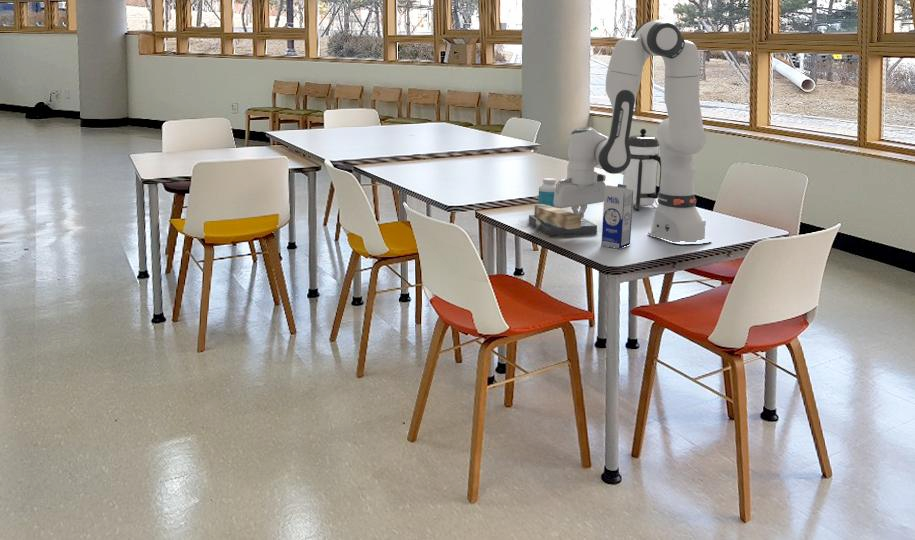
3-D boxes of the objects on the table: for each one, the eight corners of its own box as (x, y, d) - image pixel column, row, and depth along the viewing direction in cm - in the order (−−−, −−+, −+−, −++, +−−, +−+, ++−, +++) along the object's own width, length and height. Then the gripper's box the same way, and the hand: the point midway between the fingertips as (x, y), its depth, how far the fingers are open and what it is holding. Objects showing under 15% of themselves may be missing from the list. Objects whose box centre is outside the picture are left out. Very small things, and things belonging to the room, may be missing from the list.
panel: (596, 234, 321) (597, 222, 320) (546, 236, 316) (547, 224, 315) (573, 221, 340) (574, 209, 339) (526, 223, 335) (526, 211, 334)
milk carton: (600, 245, 306) (604, 184, 300) (611, 242, 311) (614, 181, 305) (620, 249, 302) (624, 187, 296) (630, 245, 307) (634, 184, 301)
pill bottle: (557, 218, 344) (558, 181, 340) (536, 217, 346) (538, 180, 342) (559, 213, 351) (560, 177, 348) (539, 212, 353) (540, 176, 349)
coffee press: (615, 210, 359) (620, 130, 351) (621, 202, 374) (626, 125, 365) (662, 213, 354) (668, 132, 346) (666, 205, 369) (672, 127, 360)
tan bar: (531, 216, 325) (531, 205, 324) (543, 215, 328) (543, 203, 327) (568, 229, 308) (568, 217, 307) (580, 227, 310) (581, 215, 309)
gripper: (562, 181, 306) (561, 223, 310) (609, 175, 317) (607, 216, 321) (550, 178, 311) (548, 220, 315) (596, 172, 322) (594, 212, 326)
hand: (578, 218), depth 318 cm, fingers closed
